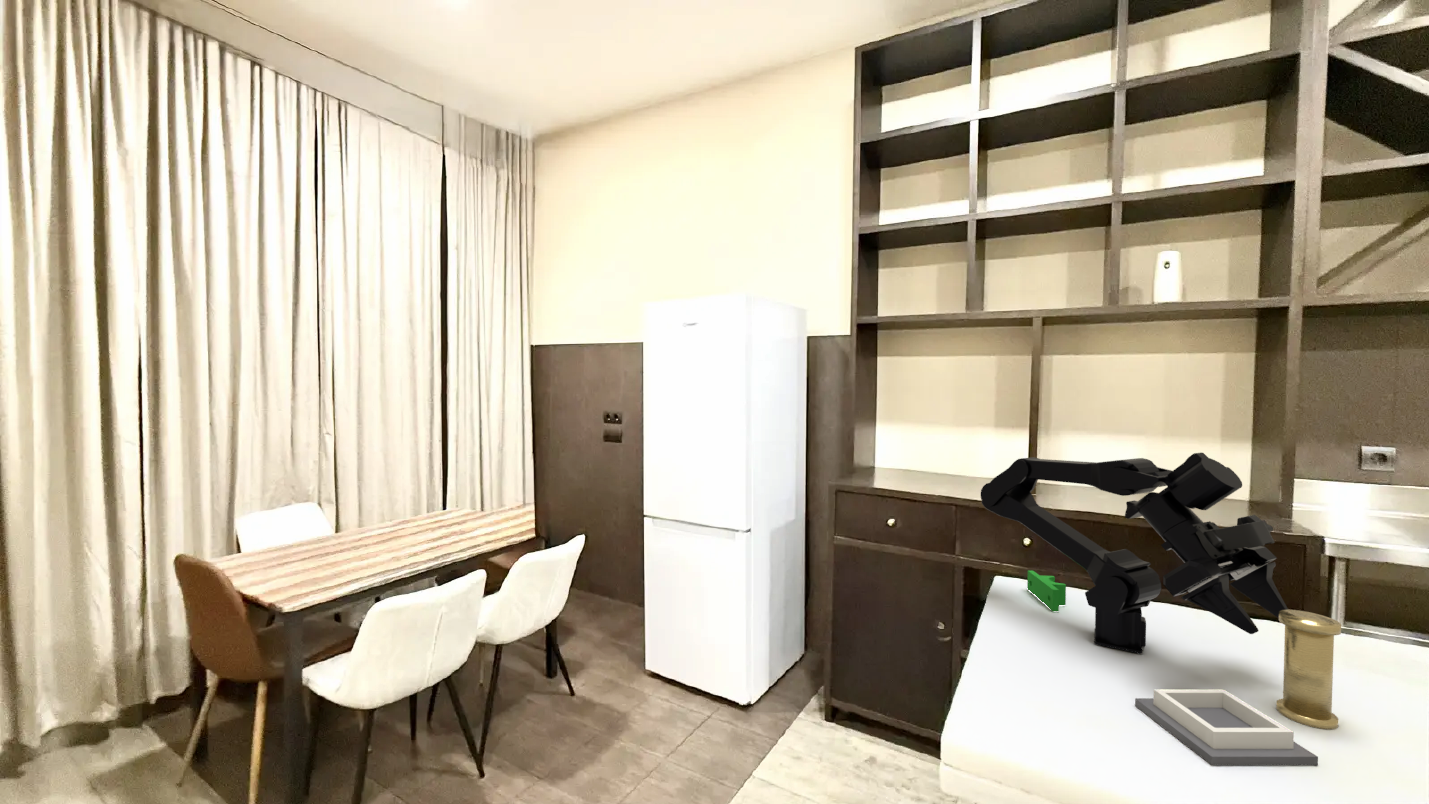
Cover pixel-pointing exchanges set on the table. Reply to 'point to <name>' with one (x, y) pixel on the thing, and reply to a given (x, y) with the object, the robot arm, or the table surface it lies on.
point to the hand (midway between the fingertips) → (1272, 626)
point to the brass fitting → (1308, 668)
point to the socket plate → (1224, 728)
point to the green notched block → (1047, 590)
